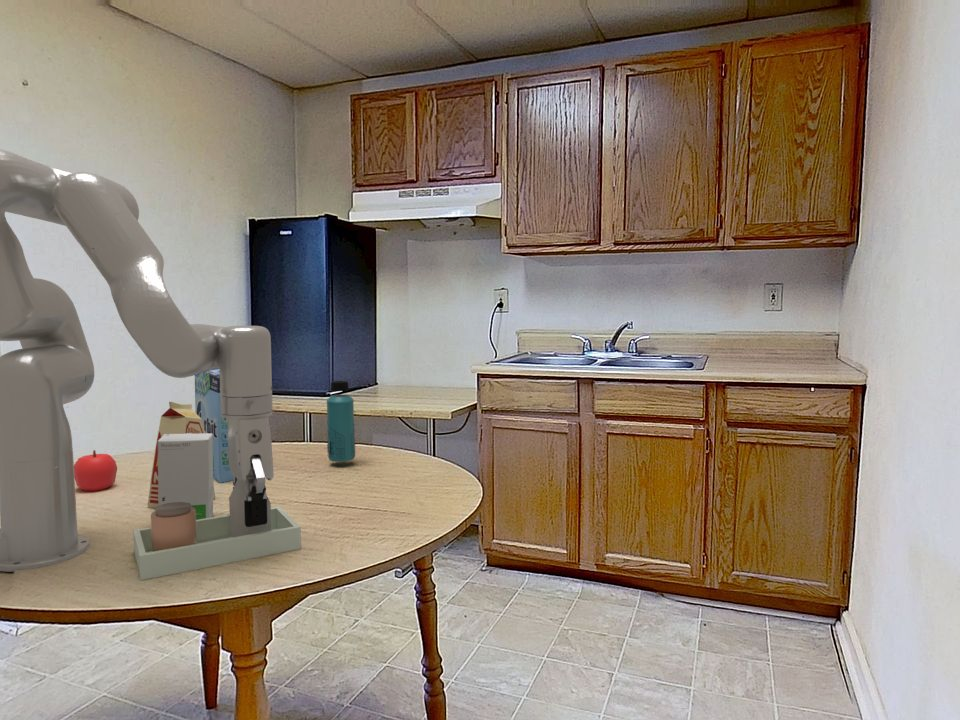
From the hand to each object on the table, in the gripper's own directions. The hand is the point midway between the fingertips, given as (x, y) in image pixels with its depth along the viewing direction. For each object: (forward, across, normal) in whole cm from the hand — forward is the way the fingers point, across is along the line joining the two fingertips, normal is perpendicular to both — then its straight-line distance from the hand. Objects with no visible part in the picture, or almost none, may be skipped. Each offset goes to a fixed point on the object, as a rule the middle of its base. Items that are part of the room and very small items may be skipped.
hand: (249, 516), depth 103 cm
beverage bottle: (+5, +43, -30) cm, 53 cm away
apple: (+5, +51, +20) cm, 55 cm away
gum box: (+5, +51, -4) cm, 51 cm away
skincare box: (+5, +17, +7) cm, 19 cm away
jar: (+4, 0, +11) cm, 12 cm away
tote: (+5, 0, +5) cm, 7 cm away
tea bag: (+3, 0, 0) cm, 3 cm away
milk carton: (+5, +31, +6) cm, 32 cm away
